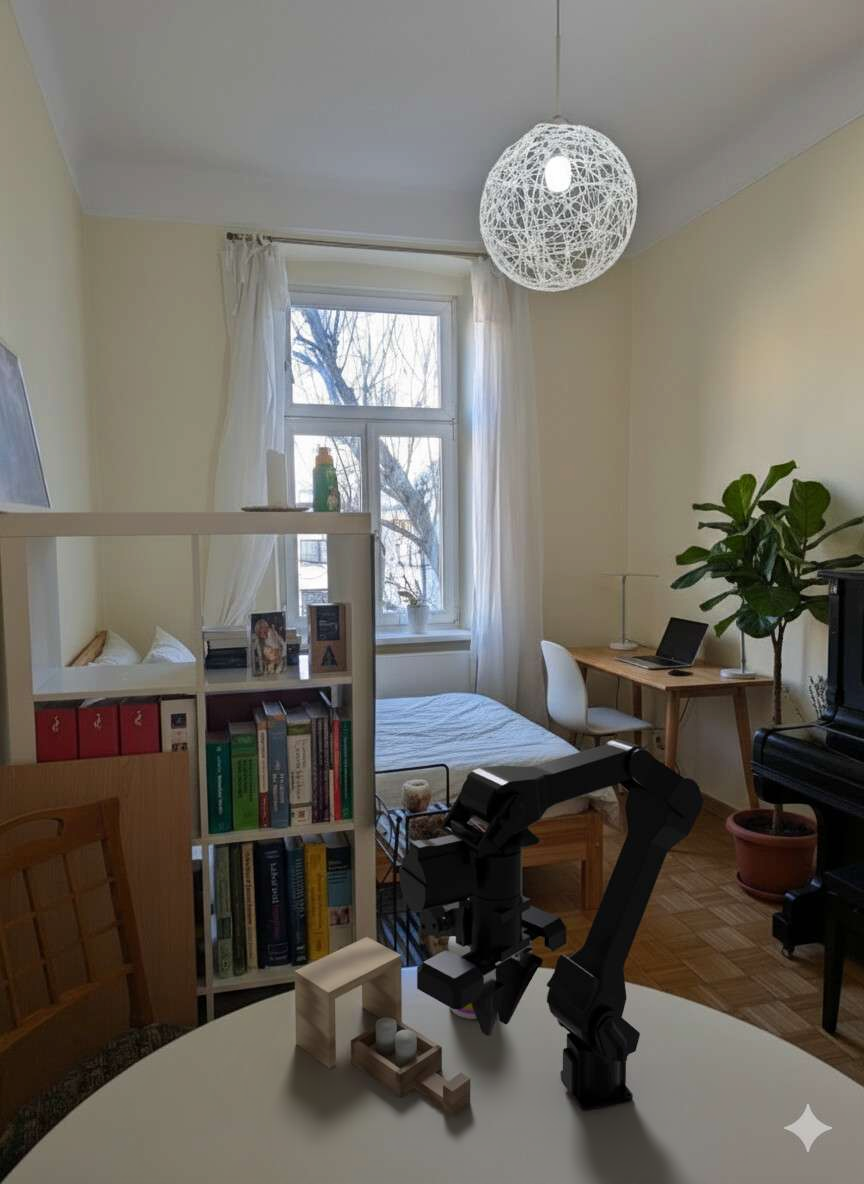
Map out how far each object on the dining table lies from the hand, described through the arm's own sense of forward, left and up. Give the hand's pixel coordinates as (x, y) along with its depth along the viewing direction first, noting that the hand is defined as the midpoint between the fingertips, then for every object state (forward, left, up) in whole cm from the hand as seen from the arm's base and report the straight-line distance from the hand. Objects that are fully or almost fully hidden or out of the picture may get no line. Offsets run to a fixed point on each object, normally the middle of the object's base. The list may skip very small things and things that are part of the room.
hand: (495, 1028), depth 87 cm
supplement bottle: (-5, -23, -12) cm, 26 cm away
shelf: (+12, -22, -12) cm, 28 cm away
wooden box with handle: (+6, -11, -12) cm, 18 cm away
